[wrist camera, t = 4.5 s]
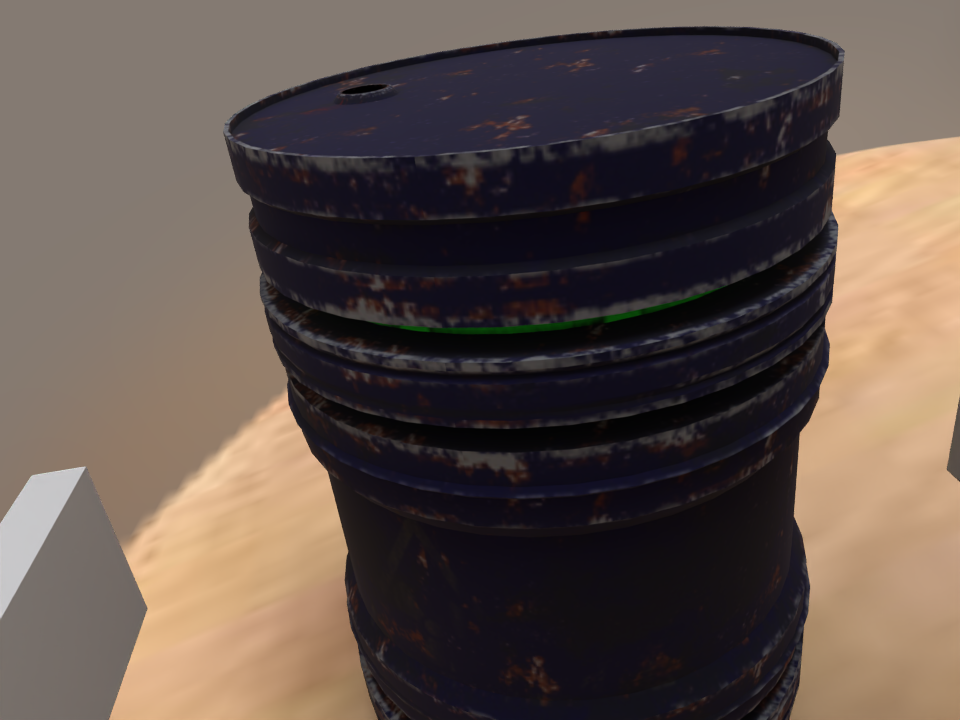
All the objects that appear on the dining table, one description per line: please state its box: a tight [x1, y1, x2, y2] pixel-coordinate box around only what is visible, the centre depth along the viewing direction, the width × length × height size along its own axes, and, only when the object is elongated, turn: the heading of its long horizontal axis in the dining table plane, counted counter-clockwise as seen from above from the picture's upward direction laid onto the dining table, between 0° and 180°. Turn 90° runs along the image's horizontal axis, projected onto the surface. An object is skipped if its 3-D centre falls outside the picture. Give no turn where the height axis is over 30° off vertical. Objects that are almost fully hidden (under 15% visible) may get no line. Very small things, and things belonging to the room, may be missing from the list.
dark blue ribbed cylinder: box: [223, 26, 845, 720], centre depth 17 cm, size 10×10×15 cm
